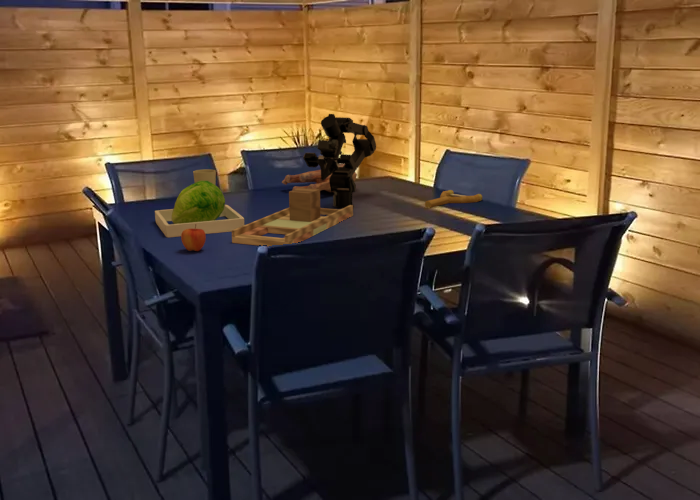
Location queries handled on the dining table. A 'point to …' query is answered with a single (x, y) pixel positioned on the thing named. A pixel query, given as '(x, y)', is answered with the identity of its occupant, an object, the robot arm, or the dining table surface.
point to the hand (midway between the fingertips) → (322, 179)
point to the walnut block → (304, 204)
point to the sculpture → (312, 180)
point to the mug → (205, 175)
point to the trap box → (288, 227)
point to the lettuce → (198, 203)
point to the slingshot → (452, 199)
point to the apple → (193, 239)
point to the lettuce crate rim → (199, 223)
